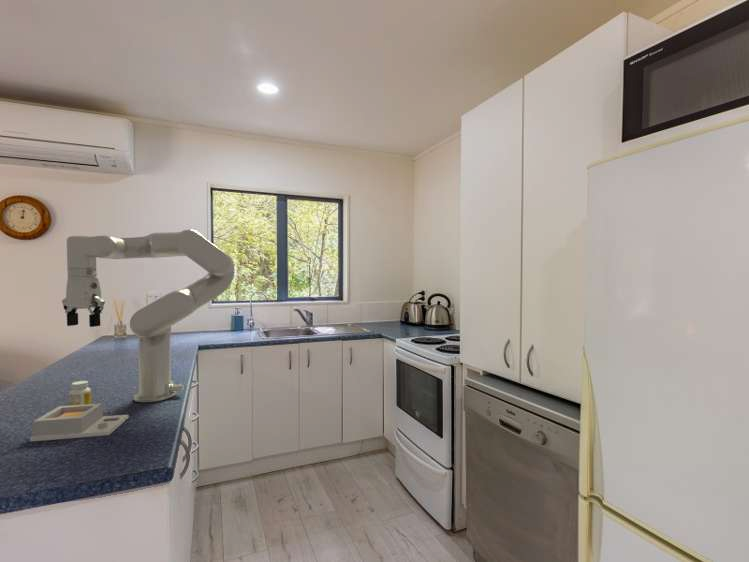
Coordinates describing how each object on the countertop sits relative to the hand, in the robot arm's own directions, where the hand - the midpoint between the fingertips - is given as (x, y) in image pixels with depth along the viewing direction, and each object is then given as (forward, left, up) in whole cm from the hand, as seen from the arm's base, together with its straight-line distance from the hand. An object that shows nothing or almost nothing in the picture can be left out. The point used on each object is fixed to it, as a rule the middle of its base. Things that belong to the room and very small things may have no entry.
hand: (83, 325), depth 124 cm
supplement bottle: (-3, +10, -26) cm, 28 cm away
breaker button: (-7, +23, -24) cm, 34 cm away
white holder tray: (-10, +23, -26) cm, 36 cm away
